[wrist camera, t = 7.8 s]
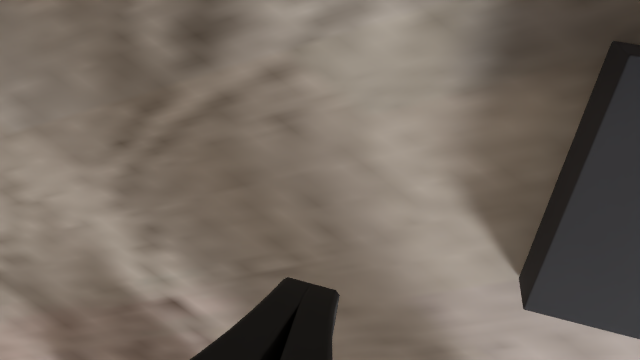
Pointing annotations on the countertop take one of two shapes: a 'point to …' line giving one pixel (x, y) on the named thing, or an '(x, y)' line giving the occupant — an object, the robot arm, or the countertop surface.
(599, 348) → the countertop surface
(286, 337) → the robot arm
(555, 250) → the tab pad
